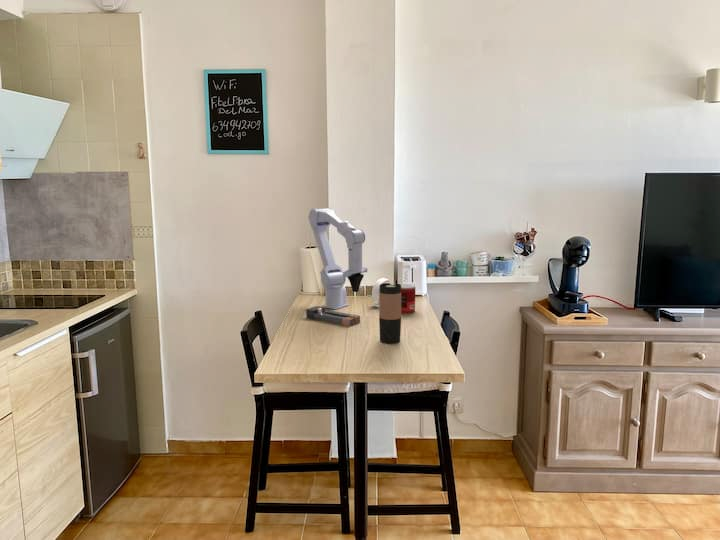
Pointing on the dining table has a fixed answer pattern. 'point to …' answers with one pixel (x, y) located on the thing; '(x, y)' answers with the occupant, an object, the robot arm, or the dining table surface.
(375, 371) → the dining table surface
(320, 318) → the tongs base
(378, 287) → the headphone stand
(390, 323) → the travel mug
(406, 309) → the canned food
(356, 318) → the tong arm
